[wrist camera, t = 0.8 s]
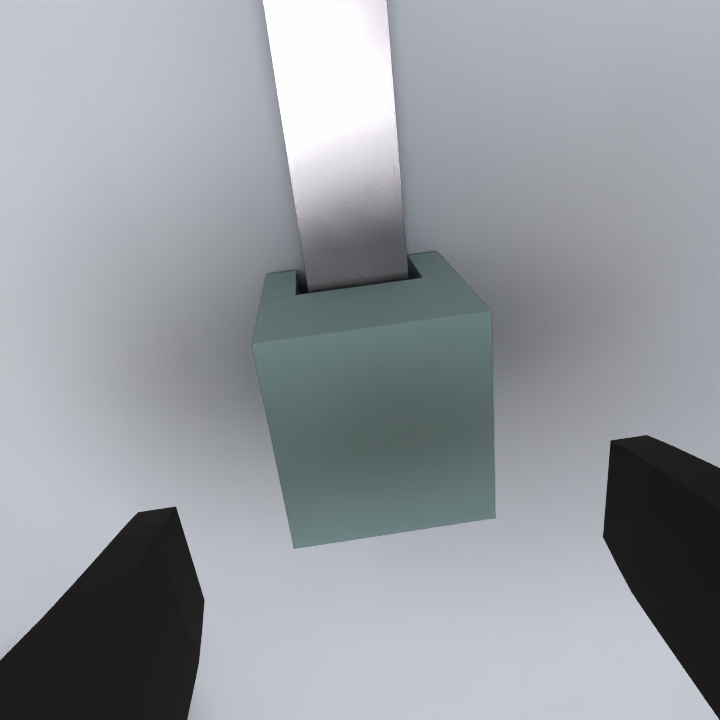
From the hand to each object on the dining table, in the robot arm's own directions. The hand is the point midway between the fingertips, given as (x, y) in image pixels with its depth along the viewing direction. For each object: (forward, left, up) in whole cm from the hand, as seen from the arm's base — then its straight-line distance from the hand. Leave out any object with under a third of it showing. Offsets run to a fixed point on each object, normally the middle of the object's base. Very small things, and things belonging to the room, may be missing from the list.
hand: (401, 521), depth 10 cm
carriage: (0, 0, -8) cm, 8 cm away
